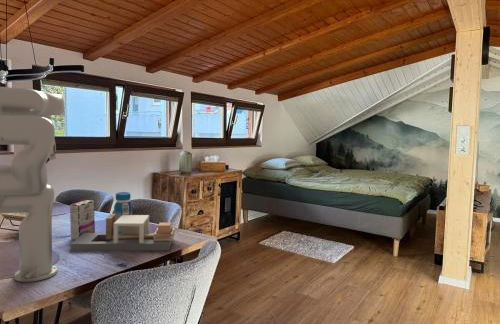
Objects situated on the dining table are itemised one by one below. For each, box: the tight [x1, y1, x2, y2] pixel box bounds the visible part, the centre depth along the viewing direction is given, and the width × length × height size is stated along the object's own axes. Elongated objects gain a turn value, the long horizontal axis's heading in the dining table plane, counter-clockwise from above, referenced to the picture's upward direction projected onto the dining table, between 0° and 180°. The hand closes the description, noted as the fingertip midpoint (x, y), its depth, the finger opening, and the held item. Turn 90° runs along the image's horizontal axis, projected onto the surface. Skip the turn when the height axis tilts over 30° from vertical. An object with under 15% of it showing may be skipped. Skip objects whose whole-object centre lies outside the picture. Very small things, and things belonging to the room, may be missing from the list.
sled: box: [105, 213, 176, 242], centre depth 153 cm, size 10×28×10 cm, turn 97°
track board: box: [69, 214, 174, 252], centre depth 153 cm, size 16×40×12 cm, turn 97°
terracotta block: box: [157, 222, 172, 234], centre depth 155 cm, size 5×5×5 cm
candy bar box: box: [69, 199, 96, 241], centre depth 162 cm, size 11×5×16 cm, turn 168°
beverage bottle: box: [113, 191, 133, 233], centre depth 169 cm, size 8×8×20 cm
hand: (41, 173), depth 137 cm, fingers closed
